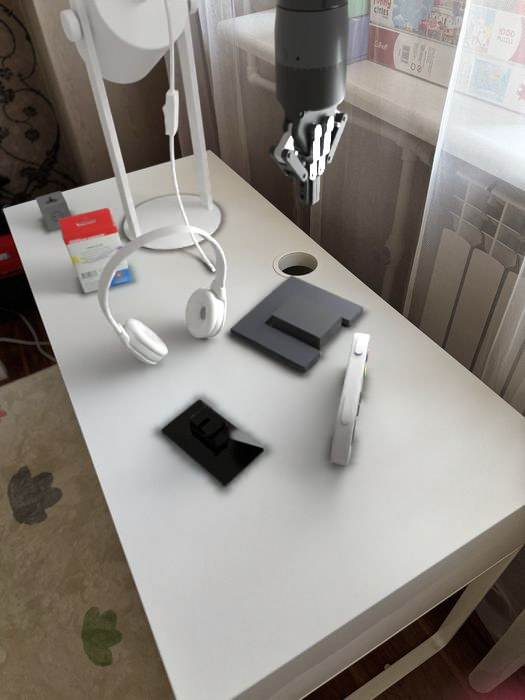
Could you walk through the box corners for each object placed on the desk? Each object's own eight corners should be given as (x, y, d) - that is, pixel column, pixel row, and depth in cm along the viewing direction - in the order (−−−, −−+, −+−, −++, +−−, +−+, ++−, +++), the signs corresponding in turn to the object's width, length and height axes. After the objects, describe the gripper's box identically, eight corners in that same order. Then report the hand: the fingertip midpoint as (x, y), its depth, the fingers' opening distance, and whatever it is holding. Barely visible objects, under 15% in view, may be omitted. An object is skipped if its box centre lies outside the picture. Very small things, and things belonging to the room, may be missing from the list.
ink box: (127, 266, 97) (106, 193, 86) (132, 281, 94) (111, 207, 83) (79, 278, 95) (52, 205, 85) (83, 294, 92) (55, 220, 81)
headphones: (114, 356, 81) (75, 246, 67) (219, 308, 88) (203, 199, 73) (133, 385, 77) (95, 275, 62) (242, 333, 83) (230, 222, 69)
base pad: (362, 312, 85) (363, 306, 84) (304, 373, 77) (304, 367, 76) (291, 280, 92) (291, 275, 91) (231, 334, 83) (230, 328, 82)
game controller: (347, 478, 65) (352, 439, 59) (329, 475, 65) (332, 435, 59) (367, 363, 78) (373, 321, 72) (352, 360, 78) (356, 319, 72)
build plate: (160, 432, 71) (153, 410, 68) (201, 399, 75) (196, 377, 71) (225, 487, 65) (221, 466, 61) (266, 449, 68) (264, 427, 65)
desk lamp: (187, 180, 118) (146, -79, 86) (271, 246, 99) (258, -54, 67) (98, 212, 110) (16, -59, 78) (171, 291, 91) (102, -25, 59)
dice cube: (49, 231, 106) (40, 209, 103) (44, 219, 109) (35, 197, 106) (74, 224, 108) (66, 201, 104) (68, 212, 111) (60, 190, 107)
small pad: (294, 306, 87) (294, 293, 85) (341, 328, 83) (342, 315, 81) (271, 326, 84) (271, 314, 82) (319, 350, 80) (320, 338, 78)
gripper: (303, 79, 50) (302, 236, 63) (375, 40, 57) (361, 188, 70) (242, 65, 54) (253, 216, 66) (316, 30, 61) (313, 172, 73)
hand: (308, 201), depth 68 cm, fingers closed
